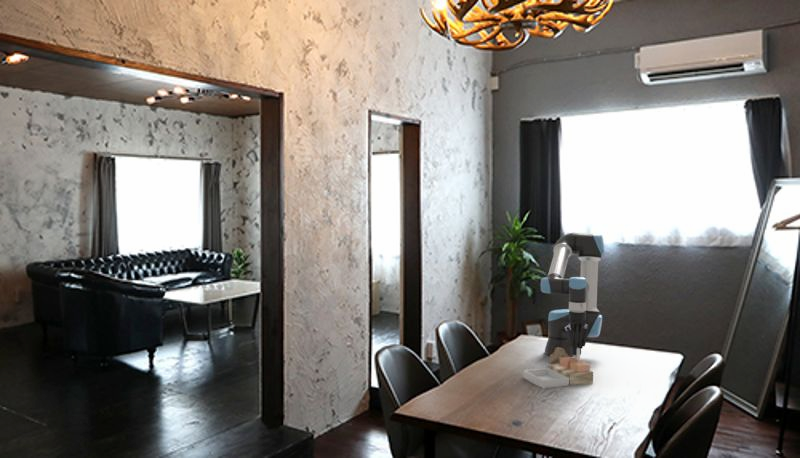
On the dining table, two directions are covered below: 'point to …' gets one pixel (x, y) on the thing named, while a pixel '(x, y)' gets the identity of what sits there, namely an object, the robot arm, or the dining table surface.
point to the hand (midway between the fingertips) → (576, 361)
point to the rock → (557, 355)
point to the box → (546, 378)
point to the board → (573, 374)
